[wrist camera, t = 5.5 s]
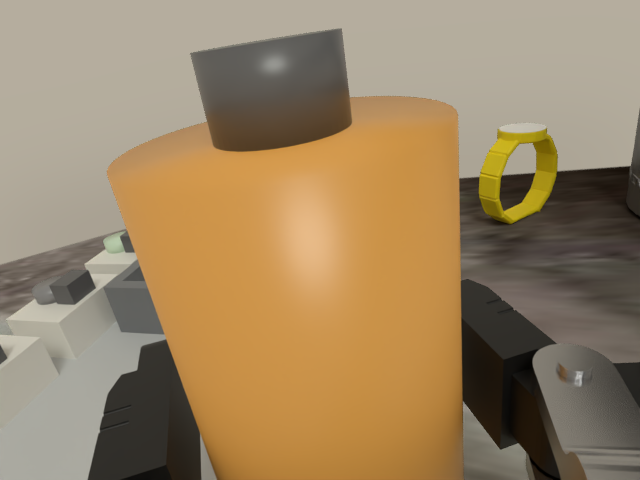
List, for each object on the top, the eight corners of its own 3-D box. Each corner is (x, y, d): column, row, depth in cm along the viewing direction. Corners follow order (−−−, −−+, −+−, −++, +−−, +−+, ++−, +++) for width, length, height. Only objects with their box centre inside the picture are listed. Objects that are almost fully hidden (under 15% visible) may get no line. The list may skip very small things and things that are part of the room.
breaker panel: (339, 270, 27) (329, 199, 25) (202, 583, 13) (153, 472, 11) (154, 268, 31) (132, 207, 29) (-116, 507, 16) (-194, 415, 14)
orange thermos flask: (464, 523, 13) (456, 8, 7) (468, 765, 9) (454, 18, 3) (305, 496, 14) (196, 49, 9) (244, 694, 10) (-33, 91, 5)
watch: (526, 201, 33) (534, 117, 30) (562, 211, 31) (575, 120, 28) (467, 223, 30) (471, 131, 28) (502, 235, 28) (510, 137, 26)
